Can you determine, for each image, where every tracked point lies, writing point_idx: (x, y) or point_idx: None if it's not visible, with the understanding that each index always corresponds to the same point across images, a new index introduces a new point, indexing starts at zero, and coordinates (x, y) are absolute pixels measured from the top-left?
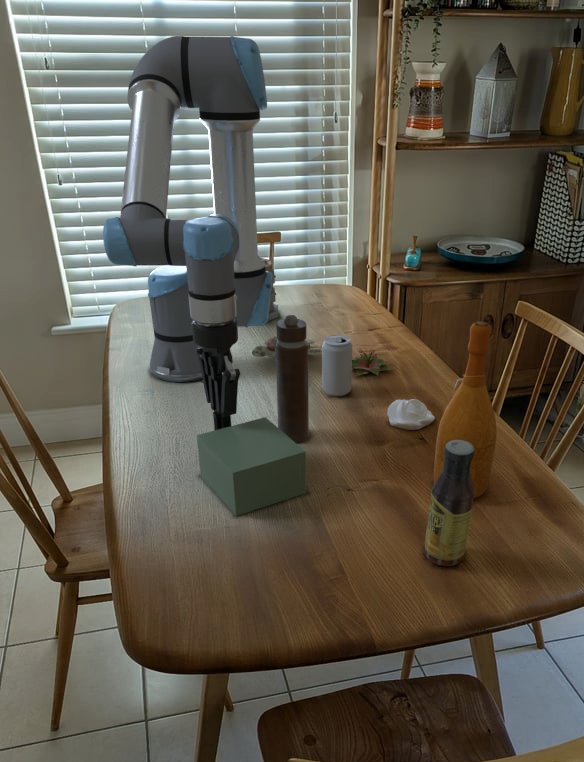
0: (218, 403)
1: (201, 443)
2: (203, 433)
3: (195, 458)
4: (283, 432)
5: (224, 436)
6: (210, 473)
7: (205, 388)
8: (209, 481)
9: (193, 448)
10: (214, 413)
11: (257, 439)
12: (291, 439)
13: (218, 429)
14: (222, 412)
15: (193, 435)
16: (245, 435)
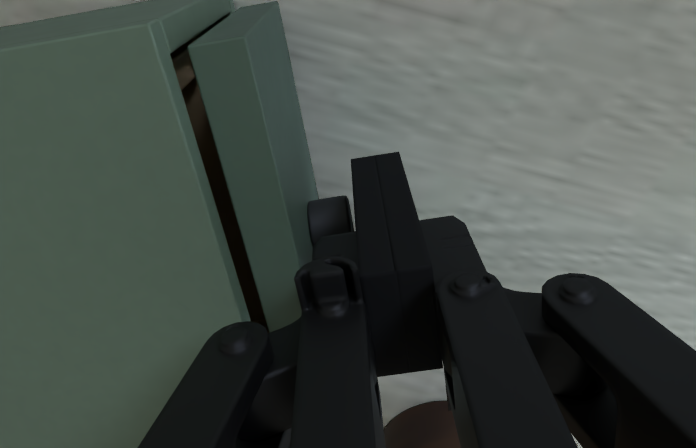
0: (302, 386)
1: (60, 36)
2: (258, 99)
3: (438, 8)
4: (416, 441)
5: (82, 237)
6: (33, 27)
7: (674, 369)
8: (92, 12)
9: (552, 26)
10: (334, 276)
11: (3, 408)
12: (387, 439)
13: (288, 221)
14: (224, 352)
15: (693, 64)
16: (73, 362)
